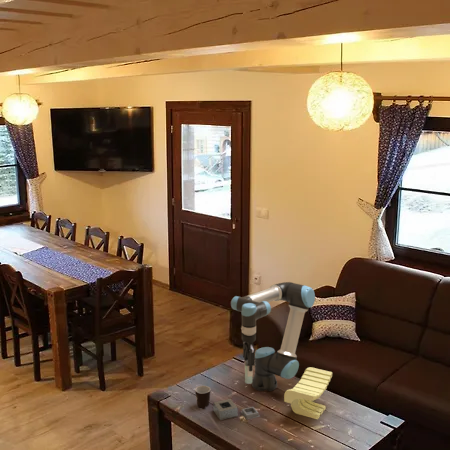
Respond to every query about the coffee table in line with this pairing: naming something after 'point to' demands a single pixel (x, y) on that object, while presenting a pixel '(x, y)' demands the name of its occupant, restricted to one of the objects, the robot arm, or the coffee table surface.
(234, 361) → the coffee table surface
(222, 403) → the port block
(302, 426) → the coffee table surface
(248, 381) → the plug
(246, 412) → the grey square open tray
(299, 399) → the slatted curved stool
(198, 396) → the coffee mug
